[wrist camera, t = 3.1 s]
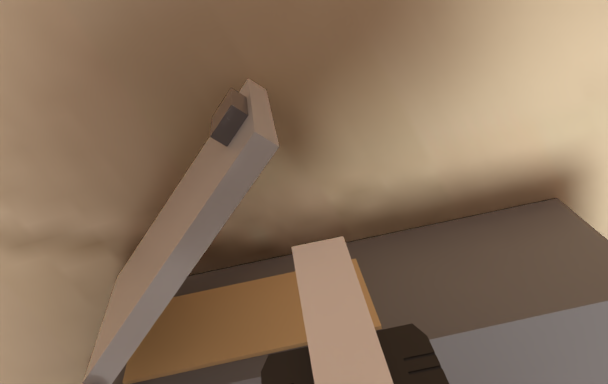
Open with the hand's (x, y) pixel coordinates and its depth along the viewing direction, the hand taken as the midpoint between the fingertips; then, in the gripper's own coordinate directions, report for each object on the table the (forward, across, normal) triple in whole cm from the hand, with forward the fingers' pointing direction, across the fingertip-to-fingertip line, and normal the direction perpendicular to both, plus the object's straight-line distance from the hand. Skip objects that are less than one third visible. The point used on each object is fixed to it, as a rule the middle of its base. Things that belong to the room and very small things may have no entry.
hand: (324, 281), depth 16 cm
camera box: (+8, 0, -8) cm, 11 cm away
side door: (+7, -5, +1) cm, 8 cm away
